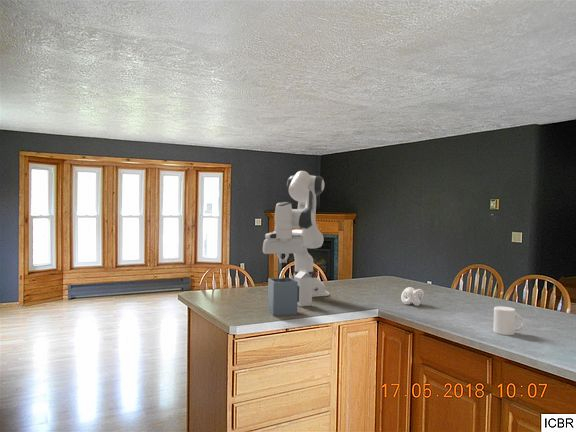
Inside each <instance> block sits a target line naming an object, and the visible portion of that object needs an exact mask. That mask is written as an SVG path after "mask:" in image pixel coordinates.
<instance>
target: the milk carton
mask: <svg viewBox="0 0 576 432" xmlns="http://www.w3.org/2000/svg"><path fill="white" fill-rule="evenodd" d="M293 279H294V280H296V281H297V282H298V285H299V302H297V307H308V306H309V307H310V306H312V305H313V297H312V277H311V276H310V275H309V273H308V272H307V270H303V269H300V271H299V272H298V273H297V274H296V275H295V276H294V275H293Z"/></svg>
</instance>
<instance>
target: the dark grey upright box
mask: <svg viewBox="0 0 576 432" xmlns="http://www.w3.org/2000/svg"><path fill="white" fill-rule="evenodd" d="M279 278H280V277H278V278H276V277H275V278H274V277H273V278H272V277H271V278H268V280H267V311H268V312H269V313H270V314H271V315H272V316H275V315H276V316H291V315H293V316H294V315H298V305H297V302H299V285H298V282H297V281H296V280H294V278H293V277H285V278H286V282H279Z"/></svg>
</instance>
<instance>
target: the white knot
mask: <svg viewBox="0 0 576 432" xmlns="http://www.w3.org/2000/svg"><path fill="white" fill-rule="evenodd" d="M424 295H425V293H424V290H423V289H421V288H417V289H415V288H414V287H410V286H409V287H406V288H405V289H404V290H403V291H402V292H401V296H400V299H401V302H402V303H403V304H404V305H406V306H408V305H411V304H413V305H414V306H415V307H419V306H420V305H421V301H422V299H423V297H424Z"/></svg>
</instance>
